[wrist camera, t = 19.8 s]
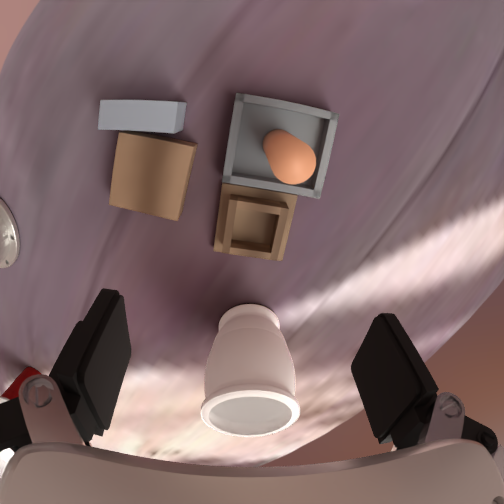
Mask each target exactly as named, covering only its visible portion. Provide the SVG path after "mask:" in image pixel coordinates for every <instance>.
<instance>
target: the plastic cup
mask: <svg viewBox="0 0 504 504" xmlns="http://www.w3.org/2000/svg"><path fill="white" fill-rule="evenodd" d="M37 374H41V373H40V372H39V371H37V370H36V369H34V368H32V367H27V368H26V369H25V370H24V371H23V372H22V373H21V374H20V375H19V376H18V377H17V378H16V379H15V381H14V382H13V383H12V384H11V385H10V387H9V388H8V389H7V390H6V391H5V392H4V393H3V395H1V396H0V404H1V403H3V402H6V401H8V400H11V399H13V398H16V397H18V396H19V389H20V386H21V384H22V383H23V381H25V380H26V379H27V378H28V377H30V376H32V375H37Z"/></svg>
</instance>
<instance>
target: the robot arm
mask: <svg viewBox="0 0 504 504" xmlns="http://www.w3.org/2000/svg"><path fill="white" fill-rule="evenodd" d="M19 249H20V240H19V233H18V229H17V225H16V223H15V220H14V217H13V215H12V213H11V211H10V210H9V208H8V207H7V205H6V204H5V203H4V202H3V201H2V200H1V199H0V268H7V267H9V266H11V265H12V264H13V263H14V262H15V261H16V259H17V257H18V255H19ZM130 357H131V344H130V338H129V332H128V325H127V319H126V312H125V304H124V297H123V296H122V295H119V292H118V291H117V290H111V289H105V288H103V289H102V290H101V291H100V293H99V295H98V296H97V298H96V300H95V301H94V303H93V305H92V306H91V308H90V310H89V311H88V313H87V315H86V317H85V318H84V320H83V321H79V322H78V323H77V324H76V326H75V327H74V329H73V331H72V333H71V334H70V336H69V338H68V340H67V342H66V344H65V345H64V347H63V349H62V351H61V353H60V355H59V357H58V359H57V360H56V362H55V364H54V366H53V368H52V370H51V372H50V374H49V376H47V375H43V374H37V375H32V376H30V377H28V378H27V379H26V380H25V381H23V383H22V384H21V386H20V389H19V396H18V397H16V398H13V399H11V400H8V401H6V402H3V403H1V404H0V504H504V448H503V447H502V446H501V445H499V446H498V441H497V437H496V435H495V433H494V432H493V431H492V430H491V429H490V428H488V427H486V426H484V425H482V424H480V423H478V422H476V421H474V420H472V419H470V418H469V417H467V416H465V407H464V404H463V403H462V401H461V400H460V399H459V398H458V397H457V396H456V395H454V394H452V393H449V392H444V393H441V394H440V395H438V396H437V394H436V392H437V391H438V387H437V385H436V383H435V381H434V380H433V378H432V376H431V374H430V372H429V371H428V369H427V367H426V365H425V363H424V362H423V360H422V358H421V357H420V355H419V353H418V351H417V350H416V348H415V346H414V345H413V343H412V341H411V340H410V338H409V336H408V335H407V333H406V332H405V330H404V328H403V327H402V325H401V324H400V322H399V320H398V319H397V317H396V316H395V315H394V314H392V313H381V314H379V315H378V316H377V317H375V318H374V320H373V322H372V324H371V326H370V328H369V330H368V332H367V335H366V337H365V339H364V341H363V343H362V345H361V347H360V349H359V351H358V352H357V354H356V356H355V358H354V360H353V362H352V365H351V371H352V374H353V377H354V380H355V383H356V385H357V388H358V391H359V394H360V397H361V399H362V402H363V405H364V408H365V411H366V414H367V416H368V420H369V422H370V425H371V428H372V431H373V434H374V436H375V437H376V438H378V441H379V444H383V443H388V442H391V441H392V440H393V443H394V446H393V448H392V451H391V452H387V453H382V454H378V455H373V456H368V457H362V458H357V459H351V460H345V461H337V462H329V463H321V464H311V465H300V466H285V467H284V466H283V467H225V466H208V465H196V464H186V463H178V462H170V461H163V460H157V459H150V458H144V457H139V456H133V455H128V454H123V453H119V452H114V451H109V450H104V449H99V448H95V447H92V445H91V443H90V440H92V437H93V434H95V435H99V436H103V432H104V429H105V430H108V429H109V427H110V424H111V420H112V416H113V413H114V409H115V406H116V402H117V399H118V395H119V392H120V389H121V385H122V382H123V379H124V376H125V372H126V369H127V366H128V363H129V360H130ZM497 446H498V447H497Z"/></svg>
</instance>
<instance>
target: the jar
mask: <svg viewBox="0 0 504 504" xmlns="http://www.w3.org/2000/svg"><path fill="white" fill-rule="evenodd" d="M279 327H280V325H279V320H278V318H277V316H276V315H275V314H274V313H273V312H272V311H271V310H270V309H268V308H266V307H264V306H261V305H256V304H244V305H239V306H236V307H234V308H231V309H230V310H228V311H227V312H226V313H225V314H224V315H223V316H222V318H221V319H220V322H219V332H218V333H217V335H216V337H215V339H214V342H213V345H212V348H211V351H210V353H209V356H208V360H207V363H206V368H205V376H204V389H205V397H206V399H205V400H204V401H203V403H202V406H201V417H202V420H203V421H204V422H205V423H206V424H207V425H208V426H209V427H210V428H212V429H214V430H216V431H218V432H221V433H223V434H227V435H231V436H238V437H260V436H266V435H271V434H274V433H277V432H280V431H283V430H285V429H287V428H288V427H290V426H291V425H293V424H294V423H295V422H296V421H297V419H298V418H299V416H300V406H299V402H298V400H297V399H296V397H295V396H294V395H295V370H294V365H293V361H292V357H291V355H290V352H289V350H288V348H287V344H286V341H285V339H284V337H283V335H282V333H281V331H280V330H279Z"/></svg>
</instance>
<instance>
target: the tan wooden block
mask: <svg viewBox="0 0 504 504" xmlns="http://www.w3.org/2000/svg"><path fill="white" fill-rule="evenodd" d="M197 145H198V144H196V143H192V142H187V141H183V140H178V139H174V138H169V137H164V136H159V135H154V134H148V133H143V132H137V131H131V130H127V131H123V132H119V136H118V142H117V147H116V154H115V160H114V167H113V174H112V182H111V191H110V200H109V205H112V206H117V207H121V208H125V209H129V210H133V211H138V212H142V213H146V214H150V215H154V216H158V217H163V218H167V219H171V220H175V221H178V219H179V217H180V215H181V213H182V210H183V206H184V201H185V196H186V192H187V187H188V183H189V178H190V174H191V169H192V165H193V161H194V157H195V153H196V149H197Z"/></svg>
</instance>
